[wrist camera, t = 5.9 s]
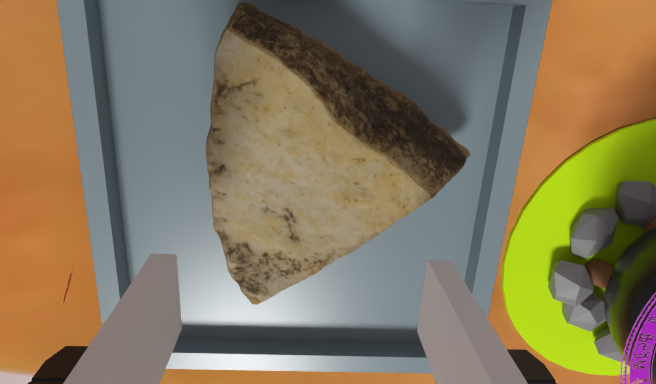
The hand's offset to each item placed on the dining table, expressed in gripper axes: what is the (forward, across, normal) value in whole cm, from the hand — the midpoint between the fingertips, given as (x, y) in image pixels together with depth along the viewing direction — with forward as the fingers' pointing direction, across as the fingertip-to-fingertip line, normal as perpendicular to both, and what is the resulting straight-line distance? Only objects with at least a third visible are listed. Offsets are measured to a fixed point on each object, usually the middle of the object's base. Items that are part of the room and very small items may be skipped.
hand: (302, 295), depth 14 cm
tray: (+8, 0, +1) cm, 8 cm away
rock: (+9, -2, -2) cm, 10 cm away
